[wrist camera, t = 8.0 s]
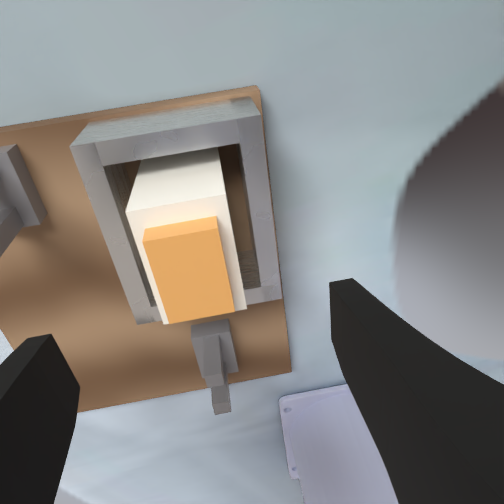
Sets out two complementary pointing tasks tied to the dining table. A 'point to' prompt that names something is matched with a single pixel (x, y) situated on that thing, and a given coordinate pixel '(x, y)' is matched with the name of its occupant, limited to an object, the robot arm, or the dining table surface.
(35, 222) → the clip
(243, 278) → the end holder
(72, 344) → the board
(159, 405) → the dining table surface
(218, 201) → the connector
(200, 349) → the clip
